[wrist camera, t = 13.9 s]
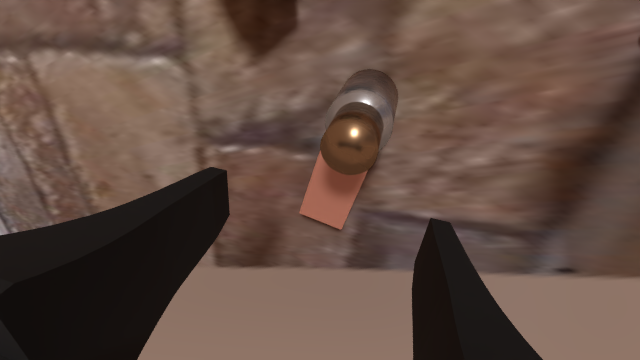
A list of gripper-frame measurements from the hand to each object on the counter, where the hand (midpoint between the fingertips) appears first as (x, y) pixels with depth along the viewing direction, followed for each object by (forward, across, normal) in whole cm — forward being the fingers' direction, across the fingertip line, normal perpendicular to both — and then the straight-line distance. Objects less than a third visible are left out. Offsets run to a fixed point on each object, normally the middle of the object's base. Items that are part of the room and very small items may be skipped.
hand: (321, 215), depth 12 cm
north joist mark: (+10, +1, +5) cm, 11 cm away
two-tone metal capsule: (+10, 0, -1) cm, 10 cm away
